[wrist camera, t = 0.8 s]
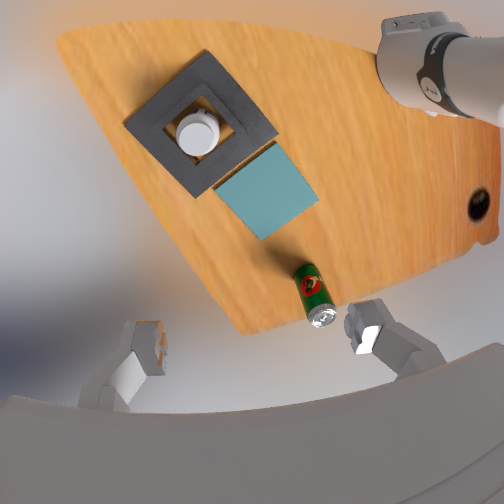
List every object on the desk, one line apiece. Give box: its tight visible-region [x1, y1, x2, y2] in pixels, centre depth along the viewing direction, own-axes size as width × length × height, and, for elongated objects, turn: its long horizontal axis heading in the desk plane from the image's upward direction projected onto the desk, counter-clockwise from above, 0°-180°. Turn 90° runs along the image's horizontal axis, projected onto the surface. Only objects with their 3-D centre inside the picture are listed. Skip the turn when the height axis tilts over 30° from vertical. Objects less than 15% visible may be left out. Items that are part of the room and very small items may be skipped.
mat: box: [214, 142, 319, 241], centre depth 46 cm, size 12×12×1 cm
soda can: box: [294, 265, 336, 327], centre depth 51 cm, size 5×5×12 cm
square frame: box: [124, 51, 279, 199], centre depth 37 cm, size 16×16×4 cm
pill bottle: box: [176, 109, 220, 156], centre depth 35 cm, size 5×5×10 cm
